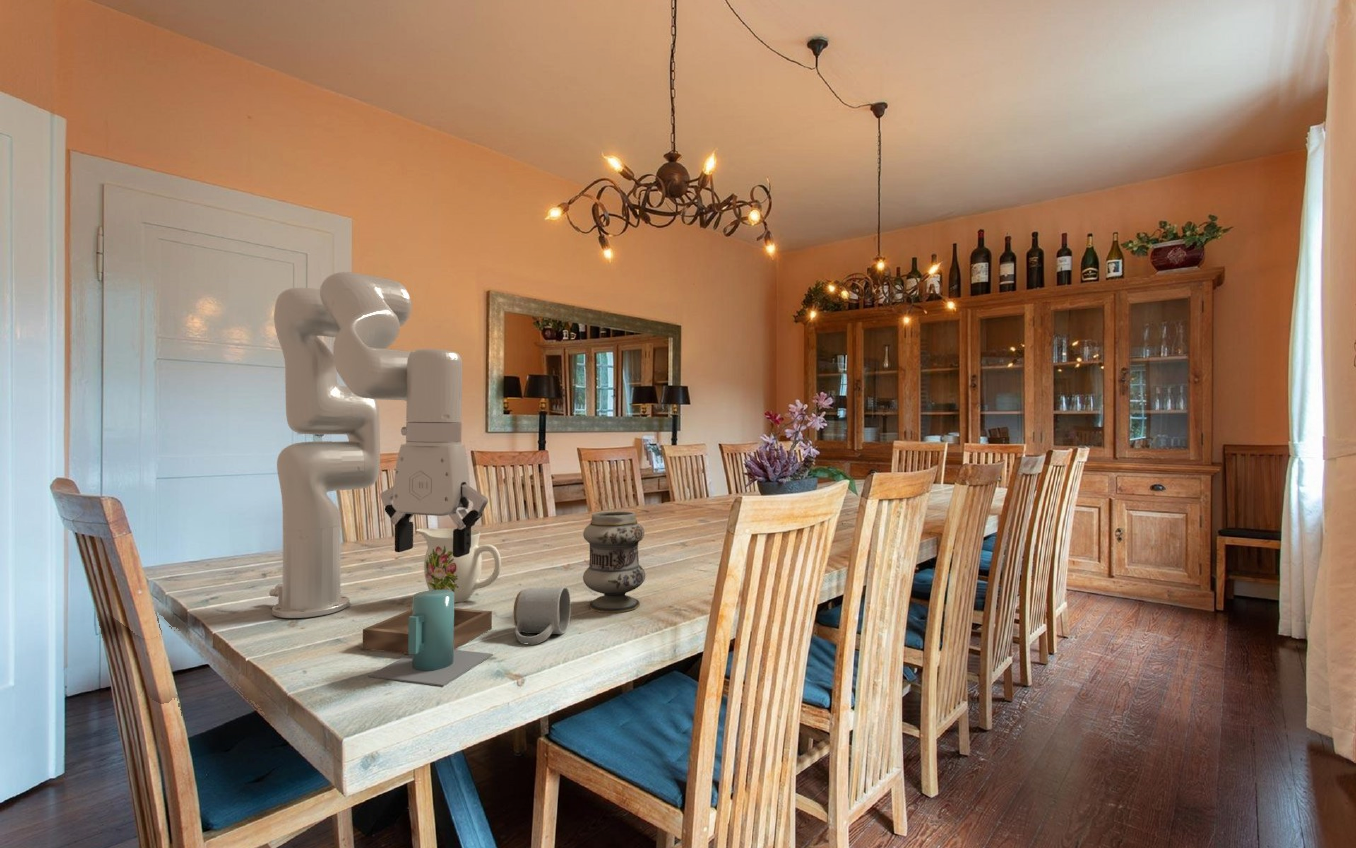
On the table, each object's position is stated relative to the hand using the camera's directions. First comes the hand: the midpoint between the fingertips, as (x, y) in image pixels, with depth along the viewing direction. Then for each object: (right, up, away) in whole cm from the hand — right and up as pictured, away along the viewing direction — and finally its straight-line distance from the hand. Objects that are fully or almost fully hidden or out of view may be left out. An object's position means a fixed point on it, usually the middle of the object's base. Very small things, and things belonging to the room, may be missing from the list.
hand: (432, 553), depth 92 cm
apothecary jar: (+23, -17, +31) cm, 42 cm away
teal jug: (0, -16, 0) cm, 16 cm away
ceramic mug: (+13, -17, +14) cm, 25 cm away
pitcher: (-9, -17, +35) cm, 40 cm away
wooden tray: (-5, -16, +11) cm, 20 cm away
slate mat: (0, -16, 0) cm, 16 cm away
